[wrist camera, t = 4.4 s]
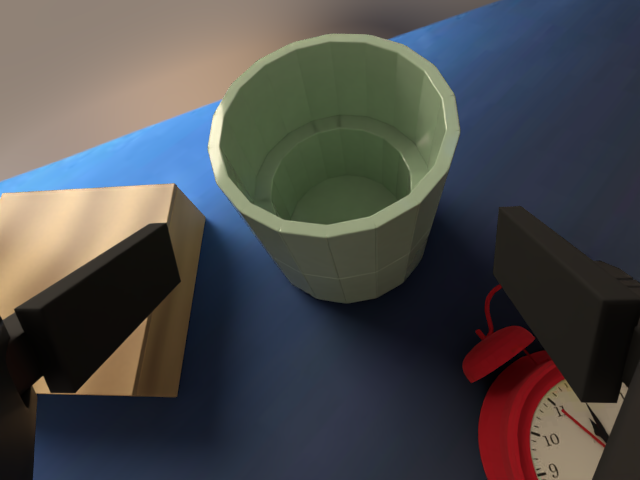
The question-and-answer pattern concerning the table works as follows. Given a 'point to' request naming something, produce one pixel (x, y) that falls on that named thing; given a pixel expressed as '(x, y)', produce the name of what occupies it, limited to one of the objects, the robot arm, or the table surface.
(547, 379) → the alarm clock
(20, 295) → the box stand
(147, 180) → the table surface
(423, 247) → the plant pot
